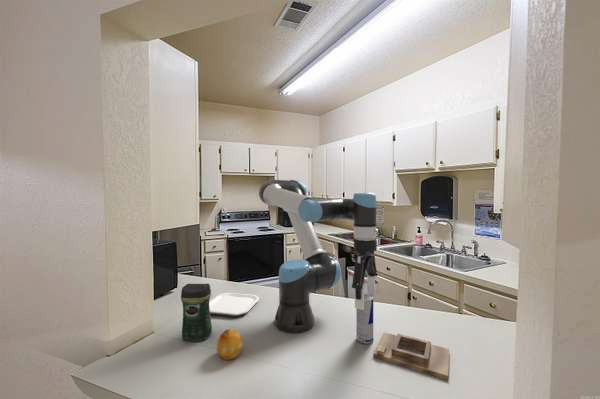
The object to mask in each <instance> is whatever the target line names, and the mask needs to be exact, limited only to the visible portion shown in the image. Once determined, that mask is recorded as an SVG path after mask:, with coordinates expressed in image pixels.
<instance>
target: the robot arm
mask: <svg viewBox="0 0 600 399" xmlns="http://www.w3.org/2000/svg"><path fill="white" fill-rule="evenodd" d="M307 193H308V192H307V188H306V186H305V184H304V183H303V182H302V181H300V180H295V179H291V180H290V179H288V180H287V179H270V180H267V181H265V182H263V183H262V184H261V186H260V187H259V190H258V196H259V199H260V201H261V202H262V203H264V204H265V205H268V206H271V207H273V206H277V207H278V208H280V209H281V208H282V210H283V212H286V213H287V214H288V217H289V220H290V223H291V225H292V227H293V230H294V232H295V236H296V238H297V241H298V244H299V247H300V248H301V252H302V255H303V257H304V258H303V259H297V260H296V259H293V260H288V261H286V262H284V263H282V264H281V265H280V267H279V270H278V281H279V282H278V294H279V295H278V302H279V304H278V306H277V310H276V313H275V317H274V326H275V328H277V329H278V330H279V331H281V332H283V333H284V332H285V333H289V334H299V333H304V332H307V331H309V330H311V328H313V326H314V324H315V316H314V313H313V309H312V307H311V304H310V294H312V293H316V292H319V291H324V290H329V289H331V288H333V287H335V286H337V285H338V284H339V282H340V281H341V277H342V269H341V265H340V263H339V261H338V260H337V259H335V258H333V257H331V256H330V254H329V252H328V251H326V250H324V249H323V247H322V244H321V242H320V239H319V237H318V235H317V233H316V230H315V228H314V225H313V223H315V222H325V221H326V222H328V221H339V220H350V221H351V220H352V221H353V238H354V239H353V249H354V251H356V252H358V256H357V255H355V257H354V258H355V259H354V261H355V262H354V270H353V276H352V277H353V278H352V285H351V288H352V289H354V309H356V310H357V309H362V310H364V294H365V289H364V288H363V287H364V283H365V277H366V294H368V295H371V296H376V277H378V272H377V271H378V270H377V264H376V257H375V252H376V251H377V249H378V240H377V239H376V238H377V236H378V235H377V233H379V229H378V228H377V207H378V205H377V195H376V194H375V193H374V192H356V193H354V194H353V198H340V197H339V198H331V199H330V198H327V199H325V198H323V199H321V198H315V197H312V196H309V195H308V194H307ZM366 273H367V275H366Z"/></svg>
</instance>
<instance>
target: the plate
mask: <svg viewBox="0 0 600 399" xmlns="http://www.w3.org/2000/svg"><path fill="white" fill-rule="evenodd" d="M259 300H260V297H259V296H258V295H256V294H249V293H248V294H247V293H237V292H235V293H234V292H225V293H220V294H217V296H215V297H214V298H213V299H212V300H209V309H210V315H215V314H217V315H216V316H224V315H226V316H225V317H234V316H237V317H240V316H243V315H246V314H248V313H249V311H250V310H251V309H252V308H253V307H254V306H255V305H256V304H257V303H258V302H259Z"/></svg>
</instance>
